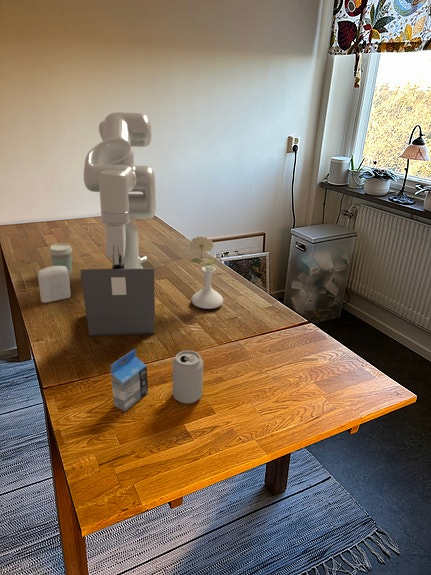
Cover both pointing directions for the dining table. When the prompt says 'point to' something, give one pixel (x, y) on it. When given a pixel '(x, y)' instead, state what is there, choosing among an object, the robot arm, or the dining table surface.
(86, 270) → the mailer lid
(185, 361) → the can
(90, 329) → the box
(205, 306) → the flower in vase
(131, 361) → the label tape box
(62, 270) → the photo printer
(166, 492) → the dining table surface
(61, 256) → the coffee cup
